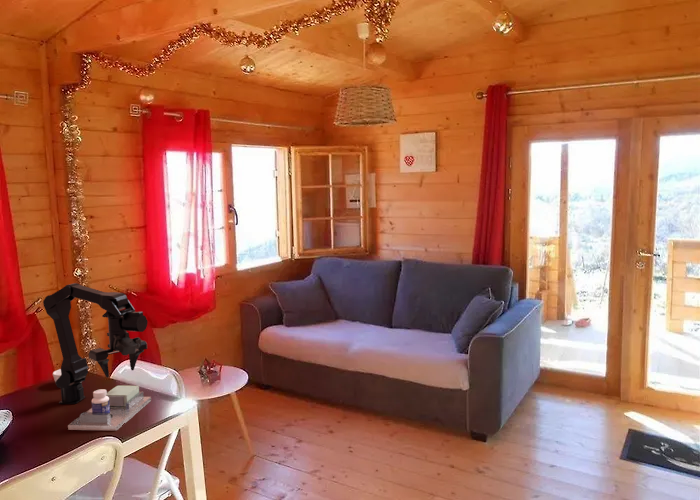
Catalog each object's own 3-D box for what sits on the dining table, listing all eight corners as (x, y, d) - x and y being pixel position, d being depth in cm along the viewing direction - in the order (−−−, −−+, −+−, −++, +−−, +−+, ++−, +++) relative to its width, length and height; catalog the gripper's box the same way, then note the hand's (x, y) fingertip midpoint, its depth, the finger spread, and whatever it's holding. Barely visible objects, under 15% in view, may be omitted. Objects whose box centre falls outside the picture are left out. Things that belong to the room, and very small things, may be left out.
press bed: (68, 429, 179) (67, 416, 178) (108, 400, 203) (107, 388, 203) (116, 430, 177) (115, 416, 177) (151, 400, 202) (150, 388, 202)
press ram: (104, 406, 193) (103, 395, 192) (118, 396, 202) (117, 385, 202) (126, 407, 192) (125, 395, 192) (139, 396, 202) (138, 385, 201)
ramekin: (51, 383, 223) (50, 370, 223) (81, 377, 230) (80, 364, 230) (56, 390, 215) (55, 377, 214) (88, 384, 221) (87, 371, 221)
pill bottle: (105, 421, 181) (103, 394, 180) (89, 420, 181) (87, 394, 180) (113, 414, 186) (111, 388, 185) (98, 414, 187) (96, 388, 186)
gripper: (103, 339, 182) (105, 386, 184) (154, 328, 196) (157, 371, 198) (86, 334, 189) (89, 379, 191) (137, 323, 203) (139, 365, 205)
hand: (120, 373), depth 196 cm, fingers open, 9 cm apart
